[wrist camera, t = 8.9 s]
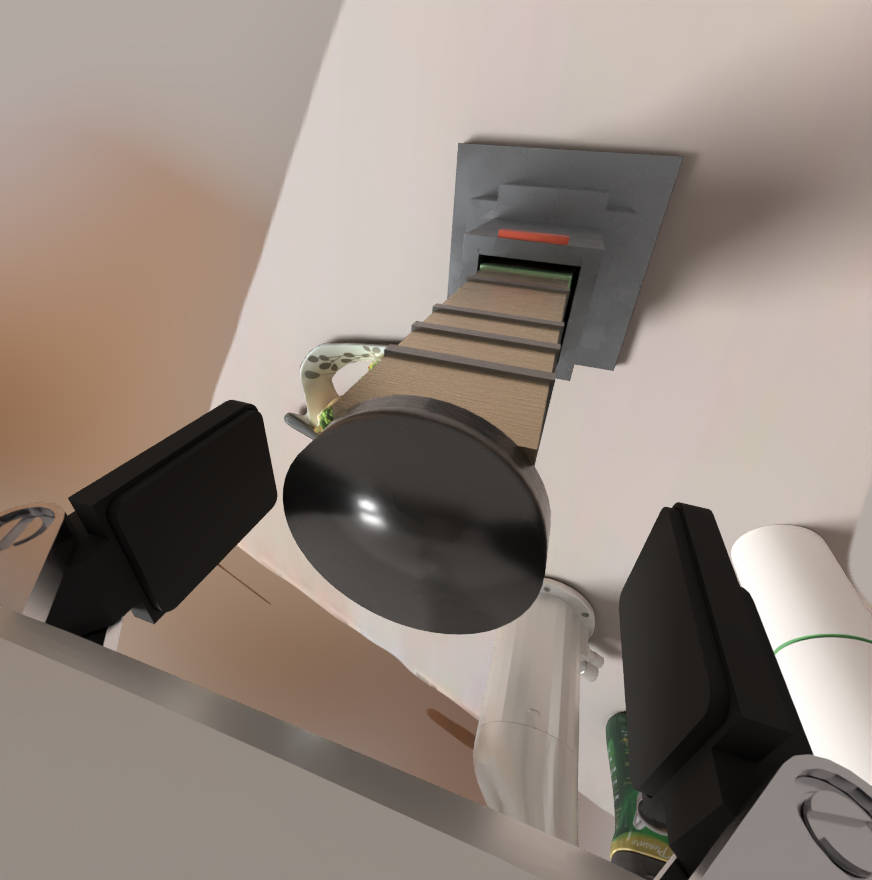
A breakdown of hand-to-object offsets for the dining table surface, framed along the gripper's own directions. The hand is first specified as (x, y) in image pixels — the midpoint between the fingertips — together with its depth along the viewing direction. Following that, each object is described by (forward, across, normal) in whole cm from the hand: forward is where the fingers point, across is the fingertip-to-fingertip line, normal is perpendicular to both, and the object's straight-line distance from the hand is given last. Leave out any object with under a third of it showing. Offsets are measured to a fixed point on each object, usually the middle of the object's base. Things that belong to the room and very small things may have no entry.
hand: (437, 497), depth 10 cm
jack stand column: (+20, 0, -1) cm, 20 cm away
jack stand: (+27, 0, -1) cm, 27 cm away
